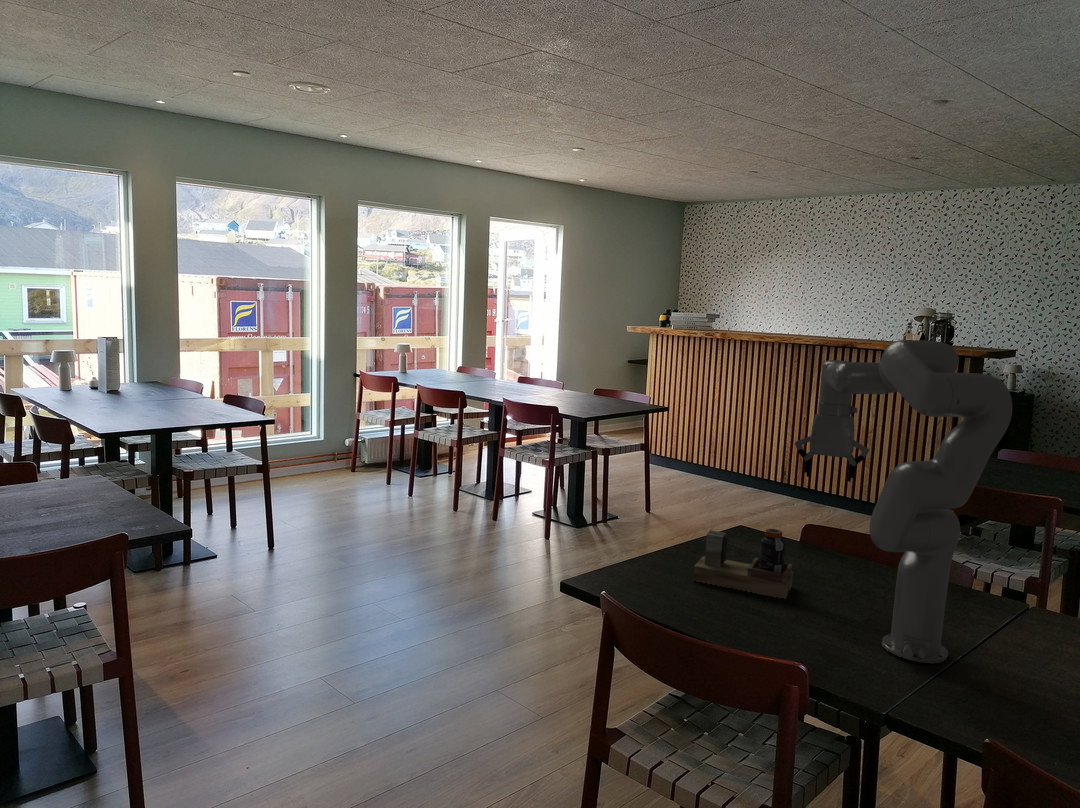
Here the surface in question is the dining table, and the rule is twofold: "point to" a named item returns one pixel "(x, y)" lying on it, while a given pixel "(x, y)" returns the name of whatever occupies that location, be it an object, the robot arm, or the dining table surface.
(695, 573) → the wooden holder
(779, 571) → the pill bottle
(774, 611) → the dining table surface
